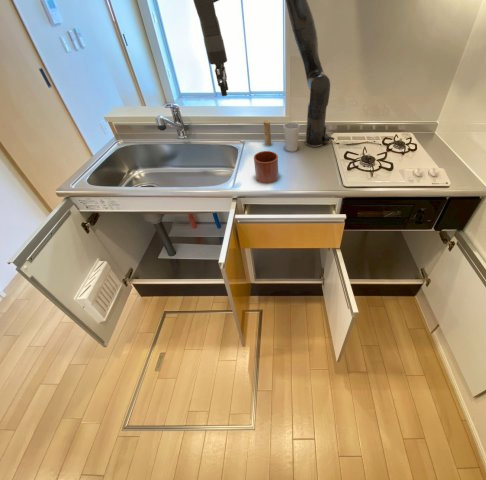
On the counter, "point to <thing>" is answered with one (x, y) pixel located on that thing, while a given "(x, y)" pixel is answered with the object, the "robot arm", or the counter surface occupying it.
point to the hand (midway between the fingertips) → (225, 92)
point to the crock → (266, 166)
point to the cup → (291, 136)
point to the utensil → (267, 133)
